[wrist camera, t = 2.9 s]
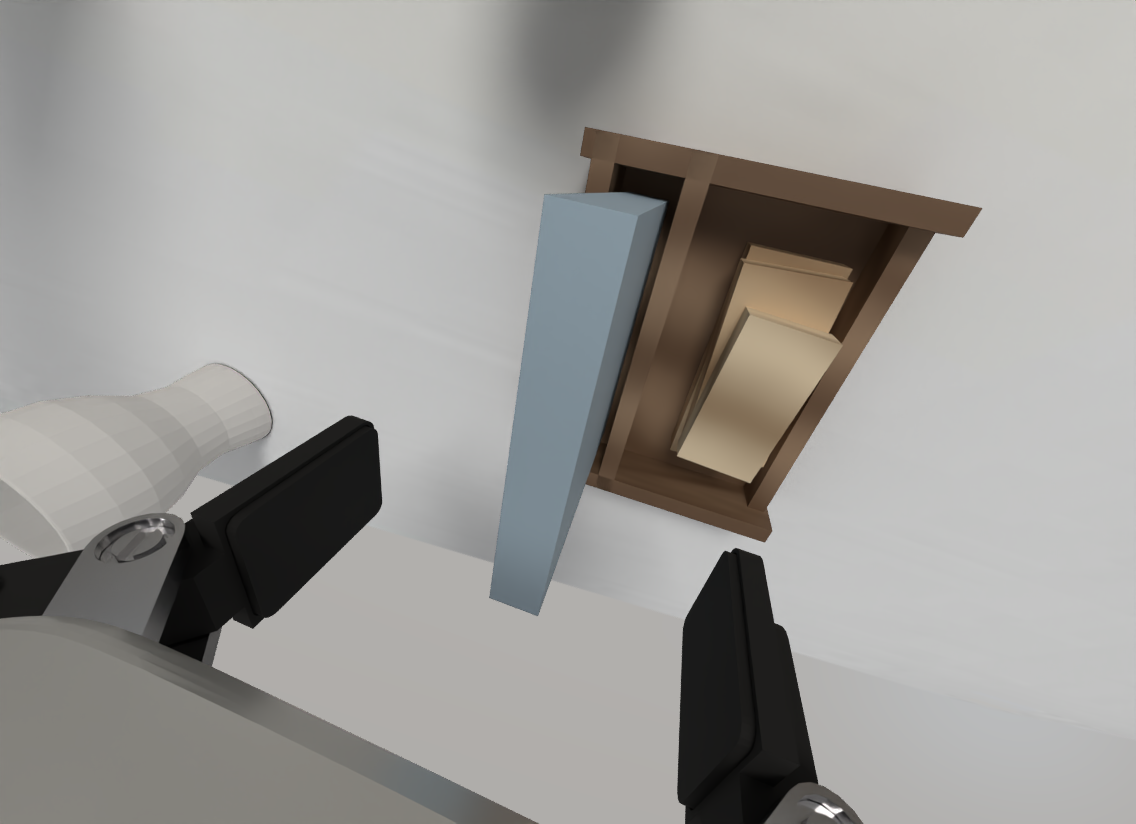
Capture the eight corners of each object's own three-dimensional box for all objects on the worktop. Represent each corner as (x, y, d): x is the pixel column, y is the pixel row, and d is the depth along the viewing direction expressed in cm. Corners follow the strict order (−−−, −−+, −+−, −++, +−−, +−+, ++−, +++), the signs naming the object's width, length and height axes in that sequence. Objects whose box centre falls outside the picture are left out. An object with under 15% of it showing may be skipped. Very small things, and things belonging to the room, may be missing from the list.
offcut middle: (740, 258, 19) (744, 262, 18) (842, 276, 18) (853, 282, 17) (681, 432, 24) (681, 446, 23) (759, 452, 23) (763, 467, 22)
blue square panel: (630, 191, 20) (544, 194, 8) (669, 200, 20) (638, 215, 8) (576, 421, 27) (489, 597, 16) (604, 430, 27) (538, 616, 15)
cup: (304, 419, 36) (93, 544, 23) (260, 466, 41) (67, 590, 28) (207, 323, 34) (-87, 405, 21) (172, 386, 39) (-80, 482, 26)
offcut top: (745, 306, 18) (749, 314, 17) (832, 334, 18) (843, 345, 17) (677, 441, 23) (676, 456, 21) (746, 466, 22) (750, 483, 21)
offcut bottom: (747, 241, 20) (751, 245, 19) (842, 263, 19) (852, 268, 18) (671, 437, 26) (670, 449, 25) (740, 458, 25) (743, 472, 24)
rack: (604, 139, 20) (584, 126, 16) (921, 204, 18) (982, 208, 14) (548, 429, 30) (527, 465, 26) (754, 493, 28) (764, 542, 24)
